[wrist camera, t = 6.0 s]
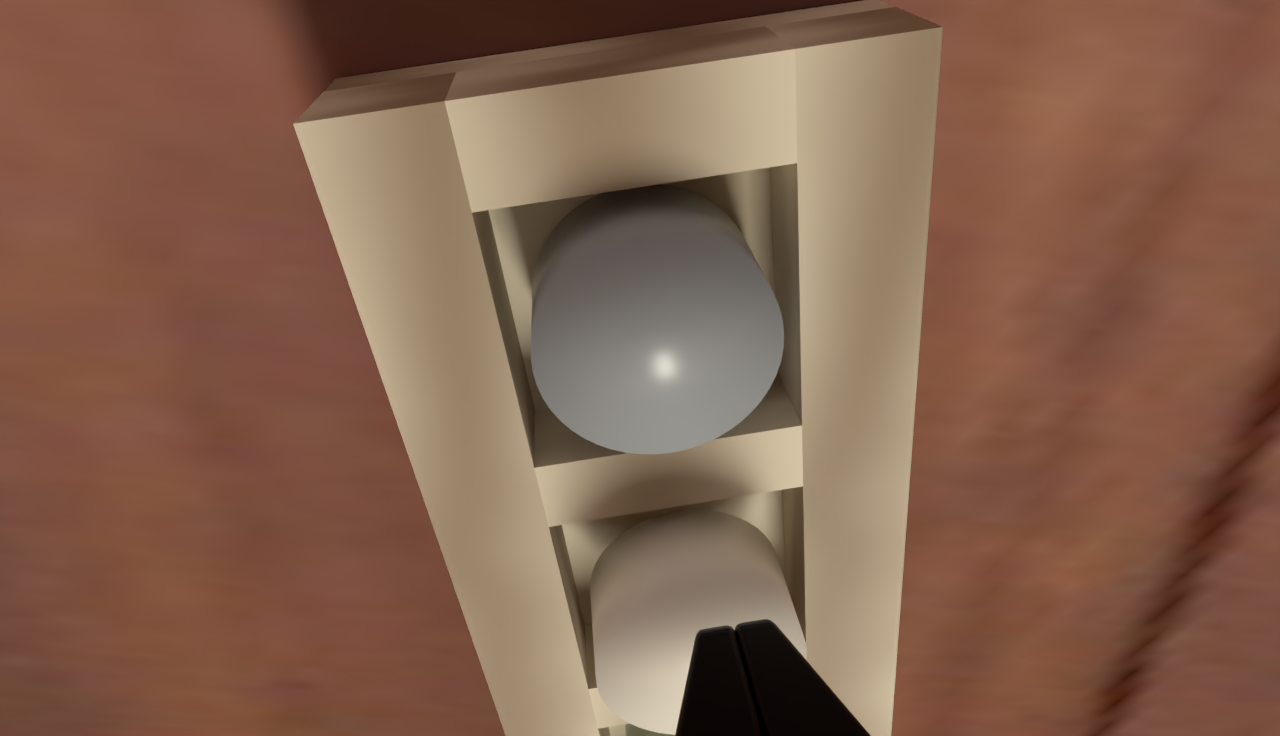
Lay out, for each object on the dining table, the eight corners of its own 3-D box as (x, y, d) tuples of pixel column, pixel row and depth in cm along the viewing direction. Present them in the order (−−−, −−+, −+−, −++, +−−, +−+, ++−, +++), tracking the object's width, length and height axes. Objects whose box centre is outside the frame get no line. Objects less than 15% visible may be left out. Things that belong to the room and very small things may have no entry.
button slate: (748, 166, 15) (780, 214, 13) (758, 367, 17) (786, 434, 15) (511, 202, 15) (506, 256, 13) (553, 399, 17) (555, 470, 15)
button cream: (775, 495, 18) (806, 577, 16) (781, 630, 20) (808, 716, 18) (575, 527, 18) (579, 613, 16) (604, 659, 20) (611, 748, 18)
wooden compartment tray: (876, -2, 15) (942, 27, 13) (852, 740, 27) (884, 830, 25) (335, 78, 15) (293, 123, 12) (556, 789, 27) (557, 885, 25)
